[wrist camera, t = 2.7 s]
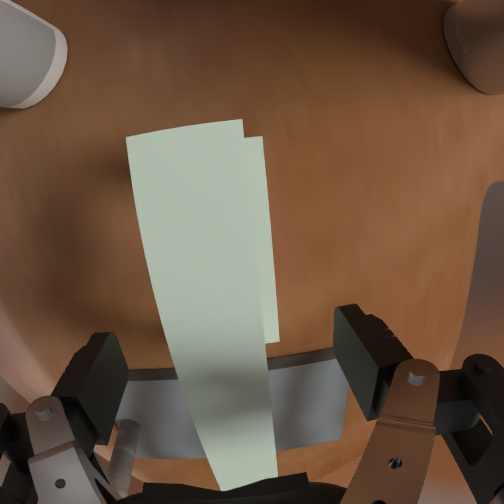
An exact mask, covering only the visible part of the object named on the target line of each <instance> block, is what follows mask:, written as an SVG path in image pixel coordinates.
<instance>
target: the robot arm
mask: <svg viewBox="0 0 504 504" xmlns="http://www.w3.org/2000/svg"><path fill="white" fill-rule="evenodd" d="M443 29H444V36H445V39H446V43H447V46H448V49H449V51H450V53H451V56H452V58H453V60H454V61H455V63H456V65H457V67H458V68H459V70H460V71H461V73H462V74H463V75H464V77H465V78H466V79H467V80H468V81H469V82H470V83H471V84H472V85H473V86H474V87H475V88H476V89H478V90H479V91H481V92H483V93H485V94H489V95H501V94H504V0H463V1H461V2H459V3H456V4H454V5H452V6H451V7H449V8H448V9H447V11H446V12H445V15H444V18H443ZM333 348H334V353H335V357H336V359H337V361H338V363H339V365H340V367H341V369H342V371H343V373H344V375H345V377H346V379H347V381H348V383H349V385H350V387H351V389H352V391H353V393H354V395H355V397H356V399H357V401H358V403H359V406H360V408H361V410H362V412H363V414H364V416H365V418H366V420H367V421H371V420H374V419H377V422H376V424H375V427H374V430H373V432H372V435H371V437H370V440H369V442H368V444H367V447H366V449H365V451H364V454H363V456H362V458H361V461H360V463H359V465H358V467H357V469H356V472H355V474H354V476H353V478H352V480H351V482H350V484H349V486H348V488H344V487H341V486H338V485H334V484H329V483H322V482H309V481H308V477H307V473H306V472H304V473H299V474H293V475H287V476H281V477H274V478H267V479H263V480H260V481H257V482H254V483H251V484H247V485H244V486H241V487H238V488H234V489H231V490H227V491H216V490H210V489H204V488H199V487H194V486H189V485H184V484H166V483H146V482H144V485H143V491H142V493H137V494H133V495H130V496H127V497H124V498H122V497H121V496H120V495H119V493H118V492H117V491H116V489H115V487H114V486H113V484H112V482H111V481H110V479H109V477H108V475H107V474H106V472H105V470H104V468H103V466H102V465H101V463H100V461H99V459H98V457H97V455H96V453H95V452H94V451H93V449H94V446H95V444H96V445H106V446H108V442H109V439H110V435H111V432H112V429H113V425H114V422H115V419H116V416H117V413H118V410H119V406H120V403H121V400H122V397H123V394H124V391H125V388H126V385H127V382H128V377H129V372H128V366H127V363H126V361H125V358H124V356H123V353H122V350H121V348H120V345H119V342H118V340H117V337H116V335H115V334H114V333H113V332H101V333H94V334H93V335H92V336H91V338H90V340H89V341H88V343H87V345H86V346H83V347H82V348H81V349H80V350H79V351H77V352H76V353H75V354H74V356H73V357H72V359H71V361H70V362H69V365H68V366H67V367H66V369H65V372H64V373H63V374H62V376H61V378H60V379H59V381H58V383H57V385H56V386H55V388H54V390H53V392H52V394H51V395H50V396H43V397H40V398H38V399H36V400H34V401H33V402H32V403H31V404H30V405H29V406H28V408H27V410H26V412H24V413H17V414H11V413H10V411H9V410H8V409H7V407H6V406H5V405H4V404H2V403H0V459H1V457H2V455H4V456H5V457H6V458H7V459H8V460H9V461H10V462H11V463H10V466H9V468H8V471H7V473H6V476H5V479H4V481H3V484H2V487H1V486H0V504H37V502H38V498H39V501H40V504H417V503H418V500H419V497H420V493H421V490H422V487H423V484H424V480H425V476H426V473H427V469H428V465H429V461H430V456H431V452H432V448H433V443H434V438H435V435H442V437H443V439H444V440H445V442H446V444H447V446H448V448H449V449H450V451H451V453H452V455H453V457H454V459H455V461H456V462H457V464H458V466H459V468H460V470H461V472H462V474H463V476H464V478H465V480H466V482H467V484H468V486H469V488H470V490H471V492H472V494H473V495H474V498H475V500H476V502H477V504H504V368H503V367H502V366H501V365H500V364H499V363H498V362H497V361H496V360H495V359H494V358H492V357H490V356H488V355H484V354H474V355H471V356H468V357H467V358H466V359H465V360H464V362H463V365H462V368H461V369H458V370H447V371H439V370H438V368H437V367H436V366H435V365H434V364H432V363H431V362H429V361H426V360H422V359H414V358H413V357H412V356H411V354H410V353H409V352H408V351H407V349H406V348H405V347H404V346H403V345H402V343H401V342H400V341H399V340H398V338H397V337H395V335H394V334H393V332H392V331H391V330H389V328H388V326H387V325H386V324H385V323H384V322H383V320H381V319H379V318H377V317H376V316H374V315H372V314H369V315H365V314H364V312H363V311H362V310H361V309H360V307H359V306H358V305H357V304H350V305H344V306H339V307H336V308H335V311H334V334H333ZM480 416H482V417H483V418H484V420H485V422H486V423H487V424H488V426H489V427H490V429H491V431H492V435H493V436H492V435H491V433H490V431H489V430H488V429H487V427H486V426H485V424H484V423H483V421H482V420H481V418H480Z"/></svg>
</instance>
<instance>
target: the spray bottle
mask: <svg viewBox="0 0 504 504" xmlns="http://www.w3.org/2000/svg"><path fill="white" fill-rule="evenodd" d="M67 51H68V47H67V43H66V39H65V36H64V35H63V34H62V32H61V31H60V30H59V29H58V28H56V27H54V26H53V25H51V24H50V23H48V22H46V21H45V20H43V19H41V18H40V17H38V16H36V15H35V14H33V13H31V12H30V11H28V10H26V9H25V8H23V7H21V6H19V5H18V4H16V3H14V2H12V1H10V0H0V107H8V108H20V109H24V108H27V107H30V106H33V105H35V104H37V103H38V102H39V101H41V100H42V99H44V98H45V97H46V96H47V95H48V94H49V93H50V92H51V90H52V89H53V88H54V87H55V86H56V84H57V82H58V80H59V79H60V77H61V75H62V73H63V70H64V67H65V64H66V61H67Z"/></svg>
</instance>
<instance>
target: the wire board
mask: <svg viewBox="0 0 504 504" xmlns="http://www.w3.org/2000/svg"><path fill="white" fill-rule="evenodd" d="M267 368H268V378H269V388H270V399H271V409H272V419H273V430H274V440H275V451H281V450H287V449H293V448H299V447H304V446H309V445H314V444H319V443H324V442H328V441H333V440H337V439H341V435H342V429H343V424H344V417H345V411H346V404H347V397H348V390H349V383H348V381H347V379H346V377H345V375H344V373H343V371H342V369H341V367H340V365H339V363H338V361H337V359H336V357H335V353H334V348H329V349H324V350H319V351H313V352H307V353H302V354H296V355H289V356H283V357H276V358H269V359H267ZM128 372H129V377H128V382H127V385H126V388H125V391H124V394H123V397H122V400H121V403H120V406H119V410H118V413H117V416H116V419H115V422H116V424H117V426H118V427H119V431H118V434H117V438H116V441H115V445H114V449H113V452H112V456H111V460H110V464H109V468H108V472H107V475H108V477H109V479H110V481H111V482H112V484H113V486H114V487H115V489H116V491H117V492H118V493H119V495H120V496H121V497H122V498H124V497H127V493H128V488H129V483H130V477H131V472H132V467H133V462H134V457H135V454H136V456H137V457H138V458H158V459H193V458H207V456H206V453H205V451H204V448H203V446H202V443H201V441H200V438H199V436H198V433H197V430H196V428H195V425H194V422H193V420H192V417H191V414H190V411H189V409H188V406H187V403H186V400H185V397H184V394H183V391H182V388H181V385H180V382H179V379H178V376H177V373H176V370H175V368H169V369H149V370H128Z"/></svg>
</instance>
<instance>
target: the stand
mask: <svg viewBox="0 0 504 504" xmlns="http://www.w3.org/2000/svg"><path fill="white" fill-rule="evenodd" d="M126 143H127V151H128V159H129V166H130V173H131V180H132V187H133V193H134V199H135V205H136V211H137V216H138V222H139V227H140V232H141V237H142V242H143V247H144V252H145V257H146V261H147V266H148V270H149V274H150V279H151V283H152V287H153V291H154V295H155V299H156V303H157V307H158V311H159V315H160V319H161V322H162V326H163V329H164V333H165V337H166V340H167V344H168V347H169V350H170V354H171V357H172V360H173V363H174V367H175V370H176V373H177V376H178V379H179V382H180V385H181V388H182V391H183V394H184V397H185V400H186V403H187V406H188V409H189V411H190V414H191V417H192V420H193V422H194V425H195V428H196V430H197V433H198V436H199V438H200V441H201V443H202V446H203V448H204V451H205V453H206V456H207V458H208V461H209V463H210V466H211V468H212V470H213V473H214V475H215V477H216V480H217V482H218V484H219V486H220V489H221V491H227V490H231V489H234V488H238V487H241V486H244V485H247V484H251V483H254V482H257V481H260V480H263V479H267V478H274V477H278V472H277V461H276V451H275V440H274V430H273V419H272V409H271V399H270V388H269V378H268V368H267V358H266V347H265V344H266V343H273V342H279V328H278V314H277V300H276V287H275V274H274V262H273V250H272V238H271V226H270V215H269V203H268V193H267V182H266V171H265V161H264V151H263V141H262V136H259V137H248V138H244V132H243V122H242V119H239V120H229V121H221V122H213V123H205V124H198V125H191V126H184V127H178V128H172V129H166V130H161V131H155V132H150V133H145V134H140V135H135V136H130V137H126Z"/></svg>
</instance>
